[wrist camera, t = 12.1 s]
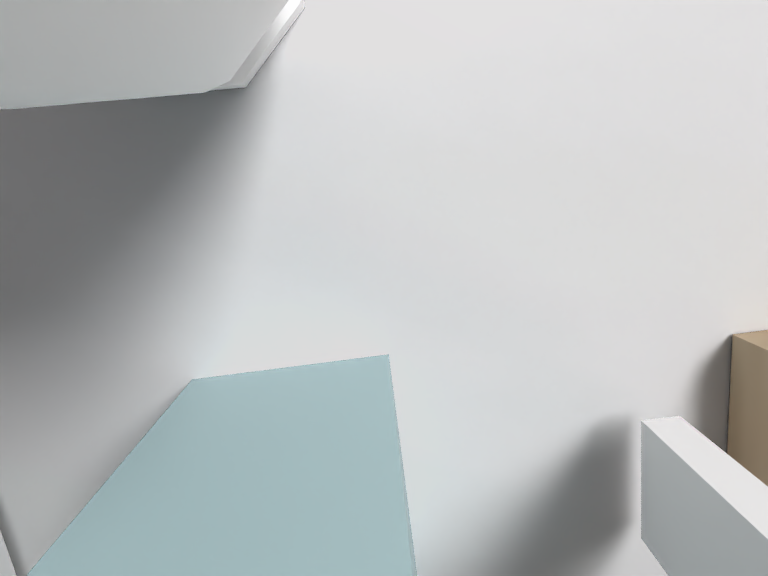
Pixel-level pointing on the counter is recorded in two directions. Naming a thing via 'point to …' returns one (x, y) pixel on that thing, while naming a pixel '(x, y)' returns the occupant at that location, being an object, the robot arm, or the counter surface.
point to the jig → (749, 403)
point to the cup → (133, 47)
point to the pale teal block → (255, 483)
